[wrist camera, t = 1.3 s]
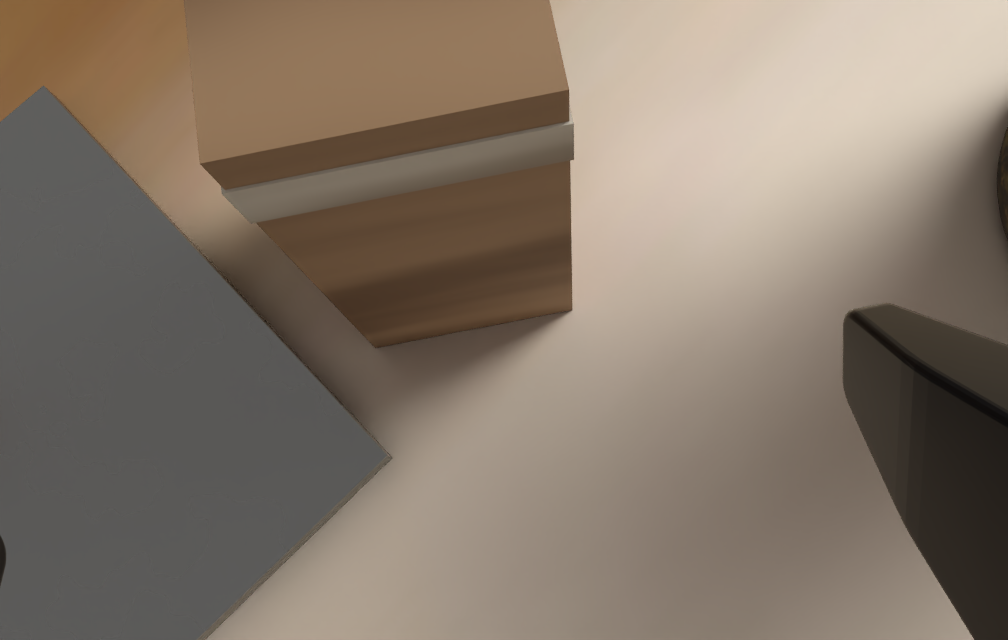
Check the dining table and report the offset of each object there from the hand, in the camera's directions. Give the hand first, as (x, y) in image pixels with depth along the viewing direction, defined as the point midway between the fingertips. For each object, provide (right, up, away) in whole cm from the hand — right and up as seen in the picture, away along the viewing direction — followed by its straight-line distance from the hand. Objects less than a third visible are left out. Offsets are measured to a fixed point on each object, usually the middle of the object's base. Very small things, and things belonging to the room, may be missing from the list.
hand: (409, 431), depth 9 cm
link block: (0, +3, +14) cm, 15 cm away
